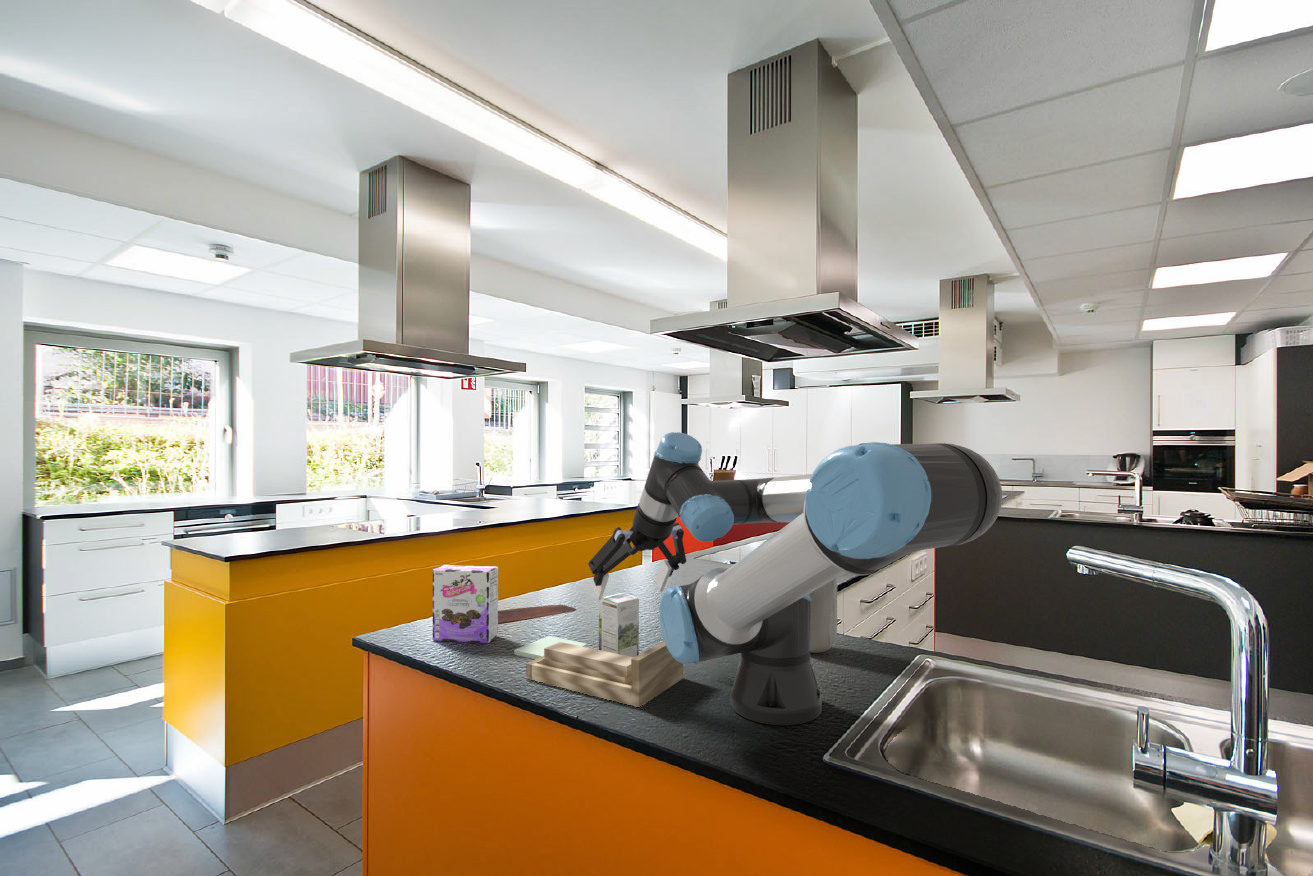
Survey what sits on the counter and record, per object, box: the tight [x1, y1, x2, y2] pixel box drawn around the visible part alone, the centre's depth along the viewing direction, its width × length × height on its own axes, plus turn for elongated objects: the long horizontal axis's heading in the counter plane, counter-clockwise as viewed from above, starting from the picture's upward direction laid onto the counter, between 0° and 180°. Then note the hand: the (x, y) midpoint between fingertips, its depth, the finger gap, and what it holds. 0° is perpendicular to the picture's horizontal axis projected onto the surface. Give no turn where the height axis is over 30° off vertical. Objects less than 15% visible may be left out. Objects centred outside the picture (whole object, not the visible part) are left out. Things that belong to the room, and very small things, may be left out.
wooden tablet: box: [498, 604, 577, 625], centre depth 162 cm, size 26×2×10 cm
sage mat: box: [513, 635, 589, 660], centre depth 133 cm, size 11×11×1 cm
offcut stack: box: [543, 642, 634, 686], centre depth 114 cm, size 20×4×6 cm, turn 59°
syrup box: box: [598, 592, 640, 657], centre depth 121 cm, size 6×6×14 cm
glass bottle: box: [809, 577, 838, 654], centre depth 132 cm, size 10×10×28 cm
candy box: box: [432, 564, 499, 644], centre depth 142 cm, size 14×6×16 cm, turn 80°
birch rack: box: [525, 640, 684, 708], centre depth 117 cm, size 26×16×8 cm, turn 59°
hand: (628, 590), depth 123 cm, fingers open, 13 cm apart
